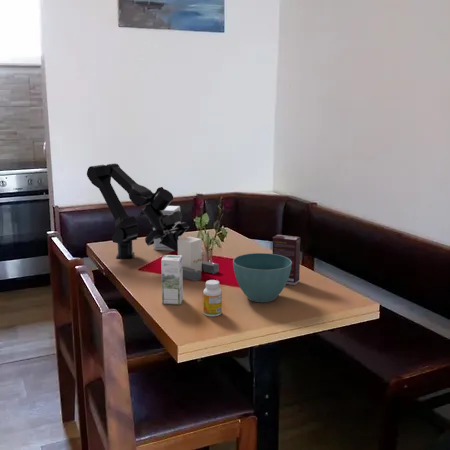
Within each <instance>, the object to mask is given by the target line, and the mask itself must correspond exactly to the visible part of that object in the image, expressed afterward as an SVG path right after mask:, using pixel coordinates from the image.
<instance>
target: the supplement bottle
mask: <svg viewBox="0 0 450 450" xmlns="http://www.w3.org/2000/svg"><path fill="white" fill-rule="evenodd" d="M202 294H203V295H202V298H203V300H202V302H203V308H202V309H203V314H204V315H205V316H207V317H218V316H220V315H221V314H222V310H223V309H222V308H223V307H222V306H223V305H222V304H223V303H222V302H223V301H222V300H223V297H222V295H223V294H222V289H221V288H220V281H219V280H218V279H216V280H215V279H209V280H206V282H205V288H204V289H203V292H202Z"/></svg>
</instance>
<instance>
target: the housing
mask: <svg viewBox="0 0 450 450" xmlns="http://www.w3.org/2000/svg"><path fill="white" fill-rule="evenodd" d="M219 266H220V265H219V263H216V262H212V261H211V262H210V261H207V260H202V271H199V270H195V269H191V268H187V267H183V279H185V280H189V281H193V282H198V281H201V280H202V272H203V271H204V272H203V273H207V272H208V274H211V273H212V275H215V274H217V273H219V271H220V270H219V268H220V267H219Z"/></svg>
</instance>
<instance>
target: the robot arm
mask: <svg viewBox="0 0 450 450" xmlns="http://www.w3.org/2000/svg"><path fill="white" fill-rule="evenodd" d="M86 177H87V179H88V180H89V181H90V183H91V184H92V185H93V186H95V187H96V188H97V189H99V191H100V193H101V195H102V197H103V199H104V202H105V203H106V205H107V207H108V209H109V211H110V213H111V214H112V216H113V219H114V229H115V232H114V233H113V234H112V236H111V239H112V241H111V242H113V244H117V254H116V256H115V257H116V259H134V256H135V252H133V251H134V250H133V247H134V246H133V241H136V240H137V239H138V235H139V231H140V227H139V223H138V222H137V220H136V219H137V218H136V217H135V216H134V215H131V216H130V215H129V214H127V212H126V210H125V208H124V206H123V204H122V203H121V200H120V199H119V197H118V195H117V193H116V190H115V189H114V187H113V185H112V183H111V182H112V179H113V180H114V181H115V182H116V183H117V184H118V185H119V186H120V187H121V188H123V191H125V192H127V194H128V198H129V200H130V201H131V203H132V204H133V205H134V206H135V207H139V208H140V207H142V206H144V207H143V208H141V209H140V213H139V216H140V217H143V216H145V217H146V218H147V220H148V221H149V222H150V226H149V227H150V229H152V230H151V231H150V232H149V233H148V234H147V235H146V237H145V238H144V241H145V243H146V245H147V246H148V247H150V246H152V245H153V244H154V240H155V239H158V238H160V240H161V241H160V244H163V245H165V246H167V247H169V248H171V249H173V250H174V251H173V252H176V253H178V240H179V239H178V237H179V236H181V237H182V236H183V234H184V233H185V232H187V230H189V228H190V225H189V224H188V223H187V222H186V221H185V222H184V221H182V219H183V217H184V216H183V213H182V212H181V210H180V211H176V212H174V213H173V214H172V215H169V216H168V215H164V214H163V213H162V211H161V210H165V209H166V207H167V206H170V204H171V202H173V200H174V195H173V193H172V192H171V191H169V190H168V189H165V188H164V187H163V186H159V187H158V188H157V189H156V191H155V192H153V191H152V190H151V189H149V188H147V187H146V186H144V185H141V184H138V183H137V182H136V181H135V180H134V179H133V178H131V176H129V175H128V174H127V173H126V171H124V170H123V169H122V168H121V167H120V165H119V164H118V163H115V162H114V163H108V164H106V165H105V164H100V165H99V164H98V165H92V166H91V165H90V166H88V168H87V170H86ZM180 221H181V223H179V224H177V225H176V226H175V223H177V222H180ZM174 226H175V228H172V227H174ZM153 228H154V229H155V230H153Z"/></svg>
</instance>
